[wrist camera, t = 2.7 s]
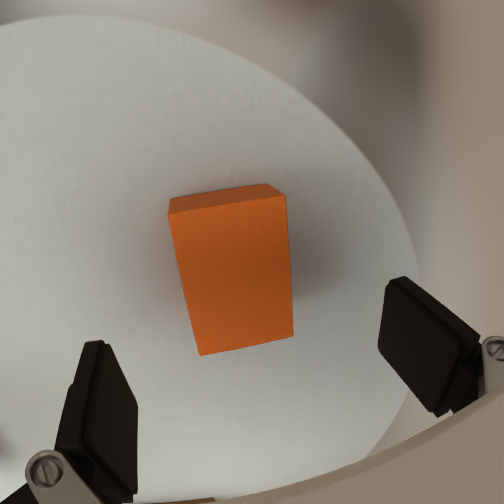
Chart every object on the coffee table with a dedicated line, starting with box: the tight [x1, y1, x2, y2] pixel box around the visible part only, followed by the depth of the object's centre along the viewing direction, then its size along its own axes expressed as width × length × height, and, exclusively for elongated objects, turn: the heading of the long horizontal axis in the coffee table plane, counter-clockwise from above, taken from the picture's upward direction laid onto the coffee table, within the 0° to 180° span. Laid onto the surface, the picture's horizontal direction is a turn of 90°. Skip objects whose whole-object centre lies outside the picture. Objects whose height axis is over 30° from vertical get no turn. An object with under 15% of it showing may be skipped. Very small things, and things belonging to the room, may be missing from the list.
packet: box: [168, 184, 293, 356], centre depth 16 cm, size 8×5×3 cm, turn 6°
